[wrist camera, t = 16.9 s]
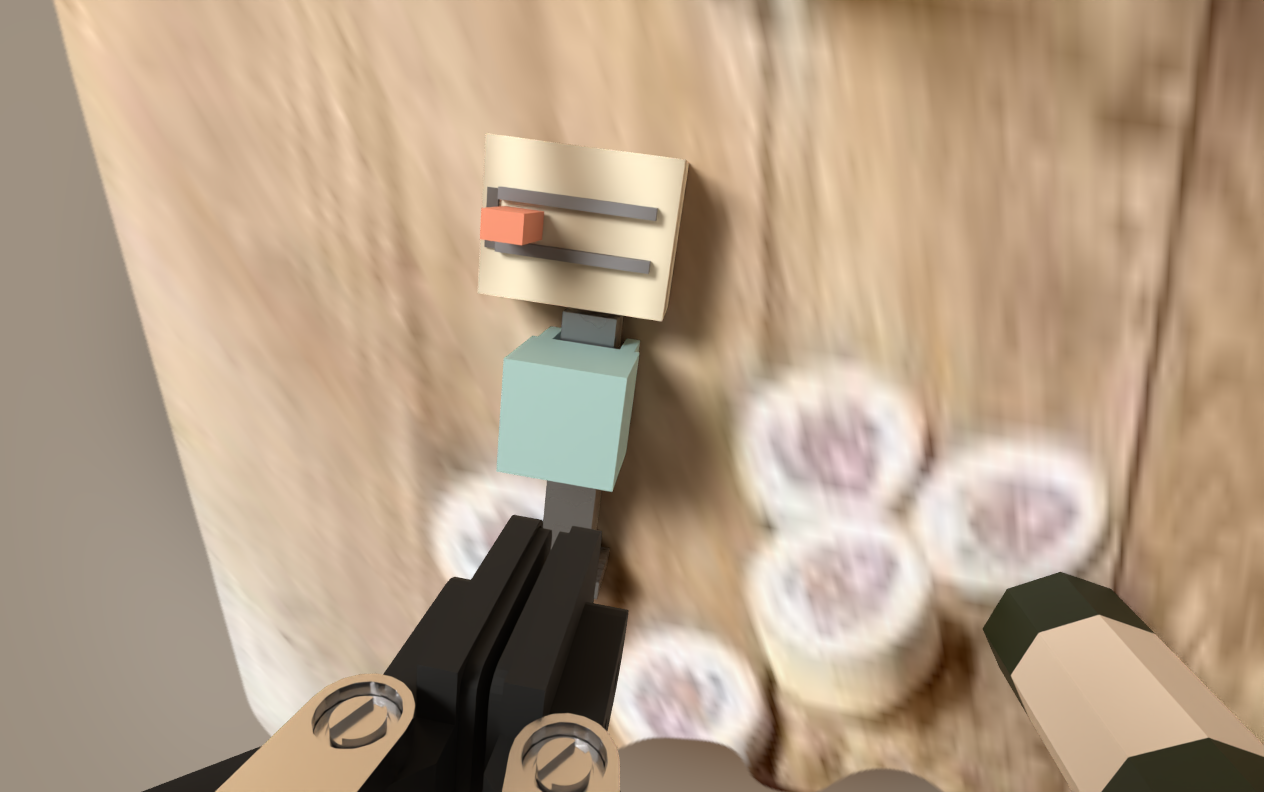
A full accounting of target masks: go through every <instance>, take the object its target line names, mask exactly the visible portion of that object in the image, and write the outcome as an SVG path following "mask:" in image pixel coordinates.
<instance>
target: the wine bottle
mask: <svg viewBox="0 0 1264 792" xmlns="http://www.w3.org/2000/svg"><path fill="white" fill-rule="evenodd" d="M983 631H984V633H985V635H986V638H987V640H988V642H989V645H990V647H991V649H992V651H993V654H994V656H995V658H996V661H997V663H998V665H999V667H1000V669H1001V671H1002V673H1003V674H1004V676H1005V678H1006V679H1007V681H1008V683H1009V685H1010V686H1011V688H1012V690H1013V691H1014V693H1015V695H1016V696H1017V698H1018V700H1019V702H1020V703H1021V705H1022V707H1023V708H1024V710H1025V712H1026V714H1027V715H1028V717H1029V719H1030V720H1031V722H1032V724H1033V725H1034V727H1035V729H1036V731H1037V732H1038V734H1039V736H1040V737H1041V739H1042V741H1043V743H1044V744H1045V746H1046V748H1047V749H1048V751H1049V753H1050V754H1051V756H1052V758H1053V760H1054V761H1055V763H1056V765H1057V766H1058V768H1059V770H1060V772H1061V773H1062V775H1063V777H1064V778H1065V780H1066V782H1067V783H1068V785H1069V787H1070V789H1071V790H1072V792H1264V745H1263V744H1262V743H1261V742H1260V741H1259V740H1258V738H1257V737H1256V736H1255V735H1254V734H1253V733H1252V732H1251V731H1250V730H1249V729H1248V728H1247V727H1246V726H1245V725H1244V724H1243V723H1242V722H1241V721H1240V720H1239V719H1238V718H1237V717H1236V716H1235V715H1234V714H1233V713H1232V712H1231V711H1230V710H1229V709H1228V708H1227V707H1226V706H1225V705H1224V704H1223V703H1222V702H1221V701H1220V700H1219V699H1218V698H1217V697H1216V696H1215V695H1214V694H1213V693H1212V692H1211V691H1210V690H1209V689H1208V688H1207V686H1206V685H1205V684H1204V683H1203V682H1202V681H1201V680H1200V679H1199V678H1198V677H1197V676H1196V675H1195V674H1194V673H1193V672H1192V671H1191V670H1190V669H1189V668H1188V667H1187V666H1186V665H1185V664H1184V663H1183V662H1182V661H1181V660H1180V659H1179V658H1178V657H1177V656H1176V655H1175V654H1174V653H1173V652H1172V651H1171V650H1170V649H1169V648H1168V647H1167V646H1166V645H1165V644H1164V643H1163V642H1162V641H1161V640H1160V639H1159V638H1158V637H1157V635H1156V634H1155V633H1154V632H1153V631H1152V630H1151V629H1150V628H1149V627H1148V626H1147V625H1146V624H1145V623H1144V622H1143V621H1142V620H1141V619H1140V618H1139V617H1138V616H1137V615H1136V614H1135V613H1134V612H1133V611H1132V610H1131V609H1130V608H1129V607H1128V606H1127V605H1126V604H1125V603H1124V602H1123V601H1122V600H1121V599H1120V598H1119V597H1118V596H1117V595H1116V594H1115V593H1114V592H1113V591H1112V590H1111V589H1109V588H1106V587H1103V586H1100V585H1097V584H1095V583H1092V582H1089V581H1086V580H1083V579H1080V578H1077V577H1074V576H1071V575H1068V574H1065V573H1062V572H1059V573H1056V574H1053V575H1050V576H1046V577H1043V578H1040V579H1037V580H1034V581H1031V582H1028V583H1025V584H1022V585H1018V586H1015V587H1012V588H1009V589H1007V590H1006V592H1005V593H1004V595H1003V597H1002V598H1001V600H1000V601H999V603H998V605H997V606H996V608H995V610H994V611H993V613H992V614H991V616H990V618H989V619H988V621H987V623H986V624H985V626H984V627H983Z"/></svg>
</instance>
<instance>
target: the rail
mask: <svg viewBox="0 0 1264 792" xmlns="http://www.w3.org/2000/svg"><path fill="white" fill-rule="evenodd" d="M623 318H624V315H617V314H611V313H604V312H597V311H591V310H584V309H578V308H571V307H568V308H567V309H566V310H564V311H563V317H562V327H561V338H560V340H562V341H569V342H575V343H581V344H588V345H594V346H600V347H607V348H613V349H619V350H620V342H621V334H622V326H623ZM601 494H602V490H599V489H594V488H588V487H582V486H577V485H571V484H565V483H560V482H554V481H548V480H547V487H546V498H545V508H544V519H543V528H545V529H550V530H552V543H551V549H552V547H553V544H554V542H555V540H556V538H557V536H558V534H559V532H560V531H561V532H567V533H569V532H570V530H571V528H572V526H578V527H583V528H589V529H594V530H597V526H598V518H599V510H600V502H601ZM609 550H610V548H607V547H602V546H601V547H600V555H599V563H598V571H597V578H596V586H595V594H594V599H597V597H598V594H599V591H600V587H601V584H602V581H603V577H604V574H605V571H606V567H607V564H608V557H609Z"/></svg>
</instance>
